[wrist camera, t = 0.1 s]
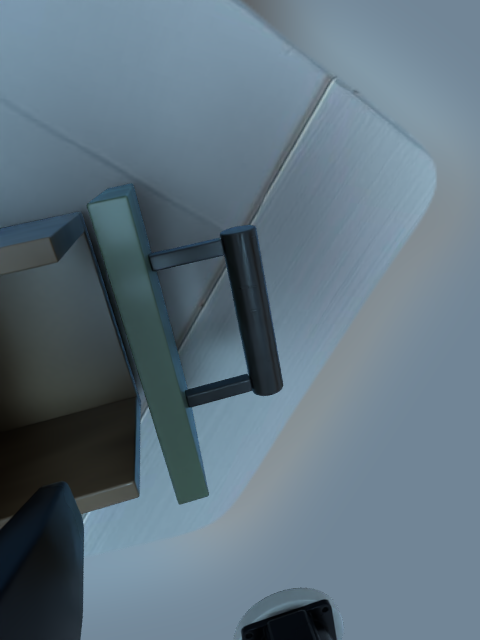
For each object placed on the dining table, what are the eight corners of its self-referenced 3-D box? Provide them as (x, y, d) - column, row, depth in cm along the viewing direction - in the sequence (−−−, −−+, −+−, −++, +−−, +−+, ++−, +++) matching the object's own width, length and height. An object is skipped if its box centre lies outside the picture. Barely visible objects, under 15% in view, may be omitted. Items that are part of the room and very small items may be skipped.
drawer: (222, 164, 21) (265, 166, 13) (263, 377, 25) (312, 465, 18) (-190, 249, 18) (-402, 306, 11) (-69, 467, 23) (-169, 609, 15)
